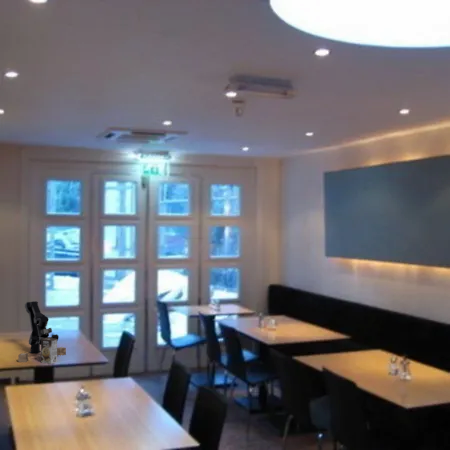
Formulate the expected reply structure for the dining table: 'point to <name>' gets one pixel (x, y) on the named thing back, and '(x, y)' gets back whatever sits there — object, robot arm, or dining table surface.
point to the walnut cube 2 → (61, 351)
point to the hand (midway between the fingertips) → (46, 349)
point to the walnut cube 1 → (22, 357)
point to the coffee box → (48, 350)
